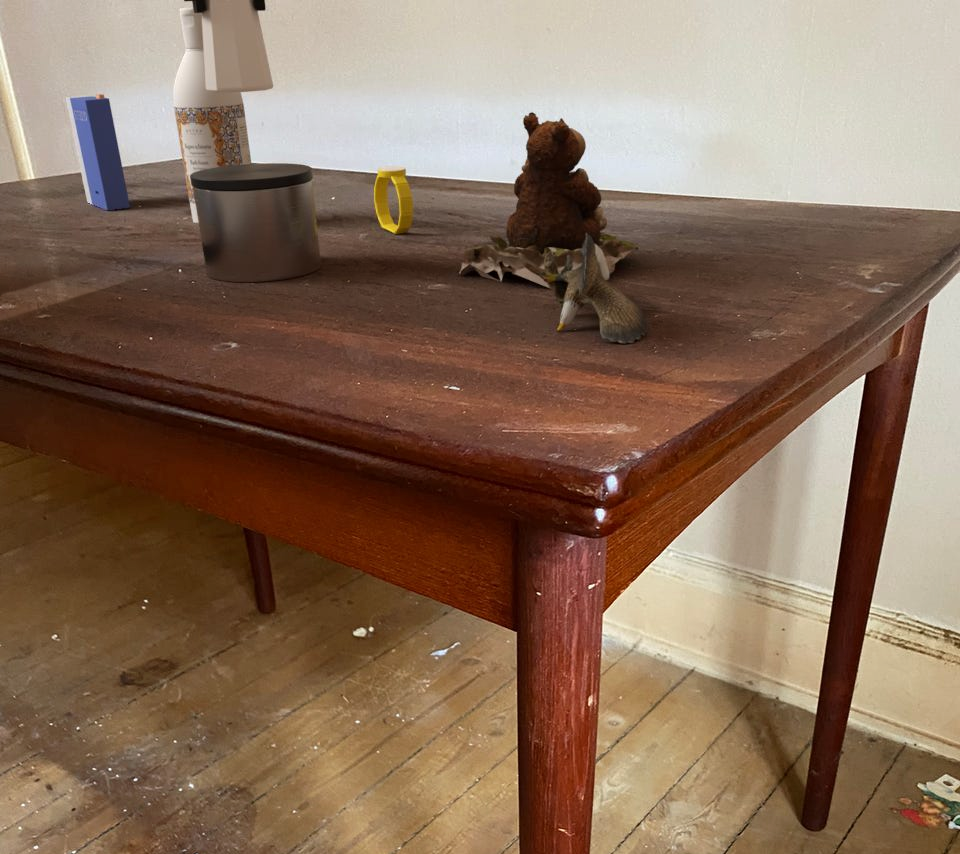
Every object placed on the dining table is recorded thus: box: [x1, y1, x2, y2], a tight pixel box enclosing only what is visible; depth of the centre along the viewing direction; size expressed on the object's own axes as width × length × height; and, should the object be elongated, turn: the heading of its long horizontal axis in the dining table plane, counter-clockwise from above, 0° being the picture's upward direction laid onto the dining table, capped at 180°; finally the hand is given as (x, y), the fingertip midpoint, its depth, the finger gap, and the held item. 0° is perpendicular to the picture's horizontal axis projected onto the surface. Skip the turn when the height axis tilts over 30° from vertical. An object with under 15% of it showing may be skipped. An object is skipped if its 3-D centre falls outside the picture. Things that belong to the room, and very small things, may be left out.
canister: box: [190, 162, 322, 283], centre depth 90 cm, size 10×10×8 cm
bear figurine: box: [458, 112, 639, 289], centre depth 86 cm, size 14×15×12 cm
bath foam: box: [172, 7, 252, 224], centre depth 107 cm, size 7×7×20 cm
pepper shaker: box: [202, 0, 274, 93], centre depth 82 cm, size 5×5×11 cm
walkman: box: [65, 93, 131, 211], centre depth 123 cm, size 8×3×12 cm, turn 35°
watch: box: [373, 165, 414, 235], centre depth 104 cm, size 6×3×6 cm, turn 31°
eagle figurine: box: [518, 233, 649, 345], centre depth 71 cm, size 8×7×9 cm
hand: (229, 8), depth 82 cm, fingers closed on pepper shaker, 4 cm apart
